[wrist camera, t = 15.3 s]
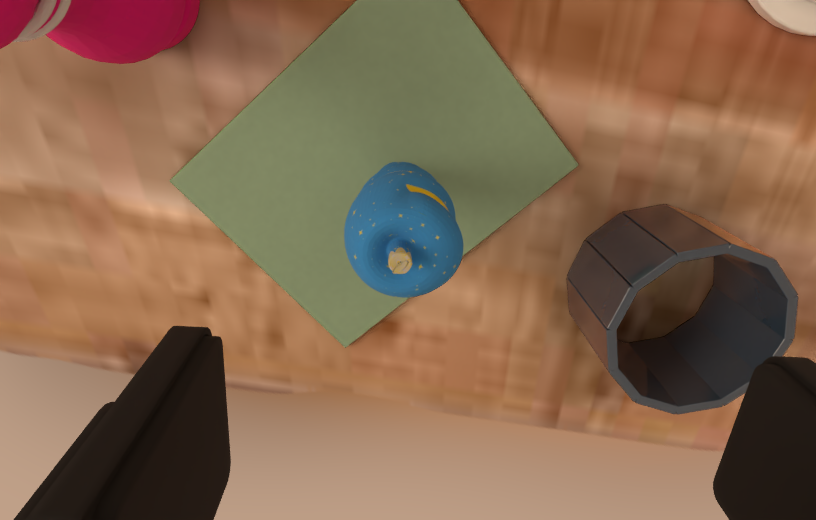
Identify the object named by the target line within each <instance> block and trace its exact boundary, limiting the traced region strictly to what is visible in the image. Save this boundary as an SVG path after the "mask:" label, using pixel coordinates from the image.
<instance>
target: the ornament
mask: <svg viewBox="0 0 816 520" xmlns="http://www.w3.org/2000/svg"><path fill="white" fill-rule="evenodd" d="M344 241H345V249H346V253H347V256H348V259H349V261H350V263H351V265H352V267H353V269H354V271H355V272H356V274H357V275H358V276H359V277H360V279H361V280H362V281H363V282H364V283H366V284H367V285H368V286H369V287H371V288H372V289H374V290H376V291H378V292H380V293H382V294H385V295H389V296H393V297H402V298H405V297H416V296H419V295H423V294H426V293H429V292H431V291H433V290H435V289H437V288H438V287H440V286H442V285H443V284H444V283H446V282H447V281H448V280H449V279H450V278H451V277H452V276H453V274H454V273H455V272H456V270H457V268H458V267H459V265H460V262H461V259H462V256H463V237H462V233H461V231H460V228H459V226H458V224H457V222H456V216H455V208H454V205H453V202H452V200H451V198H450V196H449V194H448V193H447V191H446V190H445V189H444V188H443V187H442V186H441V185H440V184H439V183H438V182H437V181H436V179H435V178H434V177H433V176H432V175H431V174H430V173H428V172H427V171H425V170H424V169H422V168H420V167H419V166H417V165H415V164H412V163H409V162H392V163H389V164H387V165H385V166H384V167H383V168H381V170H380V171H379V172H378V173H377V174H375V175H374V176H373V177H371V178H370V179H369V180H368V181H367V183H366V184H365V185H364V186H363V188H362V190H361V191H360V193H359V194H358V195H357V197H356V198H355V200H354V202H353V203H352V205H351V208H350V210H349V212H348V215H347V218H346V222H345V228H344Z"/></svg>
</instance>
